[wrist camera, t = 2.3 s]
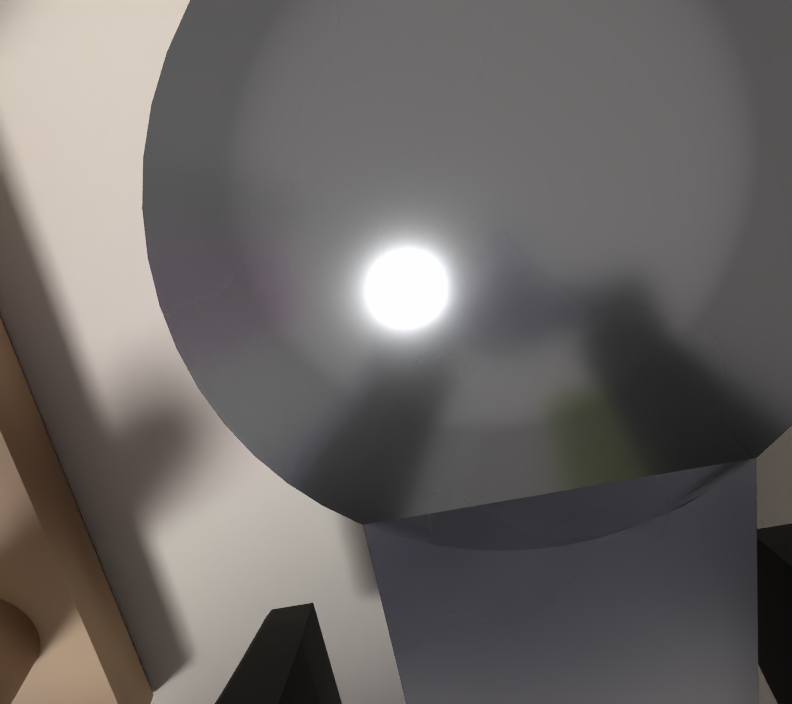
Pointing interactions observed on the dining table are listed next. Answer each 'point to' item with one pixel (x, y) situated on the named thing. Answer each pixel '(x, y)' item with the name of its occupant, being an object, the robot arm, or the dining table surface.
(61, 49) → the dining table surface
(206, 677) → the dining table surface
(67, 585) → the rack
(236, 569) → the dining table surface
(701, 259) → the grey ball-headed rattle
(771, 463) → the dining table surface
